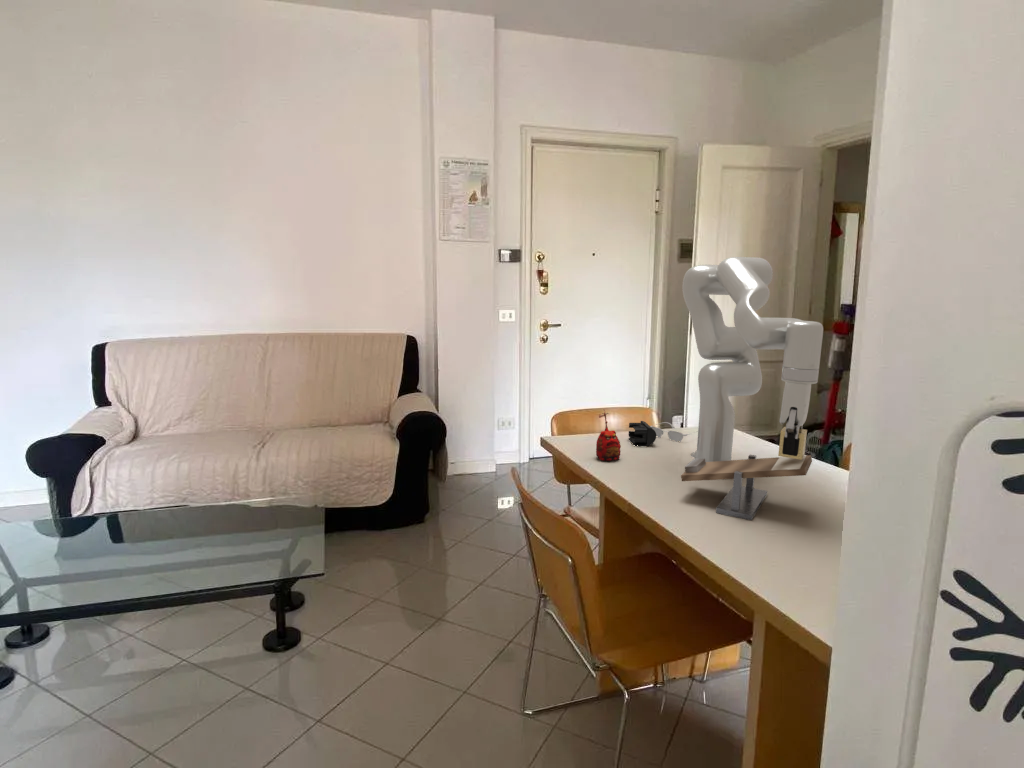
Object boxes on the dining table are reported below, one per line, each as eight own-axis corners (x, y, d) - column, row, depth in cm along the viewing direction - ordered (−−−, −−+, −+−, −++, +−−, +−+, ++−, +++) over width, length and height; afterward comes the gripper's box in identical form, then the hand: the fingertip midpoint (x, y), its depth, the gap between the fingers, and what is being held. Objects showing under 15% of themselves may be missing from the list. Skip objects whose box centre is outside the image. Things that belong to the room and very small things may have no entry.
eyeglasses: (645, 436, 213) (646, 425, 212) (672, 428, 226) (672, 418, 225) (684, 444, 202) (685, 433, 202) (710, 436, 215) (710, 425, 214)
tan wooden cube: (781, 451, 143) (783, 426, 142) (804, 454, 140) (807, 429, 139) (778, 455, 139) (780, 430, 138) (801, 459, 136) (804, 434, 135)
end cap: (655, 447, 197) (657, 427, 196) (634, 447, 197) (635, 427, 195) (648, 439, 207) (649, 420, 206) (627, 439, 206) (628, 420, 205)
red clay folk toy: (603, 463, 178) (605, 414, 175) (590, 457, 184) (592, 409, 181) (624, 460, 181) (626, 412, 178) (611, 454, 187) (613, 407, 185)
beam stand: (715, 512, 140) (719, 471, 139) (734, 489, 157) (737, 451, 155) (751, 520, 136) (755, 477, 135) (766, 495, 153) (770, 456, 151)
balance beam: (681, 482, 147) (678, 470, 147) (696, 467, 159) (694, 456, 159) (805, 476, 132) (803, 462, 131) (812, 460, 144) (810, 448, 144)
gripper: (787, 369, 145) (779, 441, 148) (776, 378, 131) (768, 457, 134) (821, 372, 141) (813, 446, 145) (814, 381, 127) (804, 463, 130)
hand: (791, 451), depth 139 cm, fingers closed on tan wooden cube, 5 cm apart
